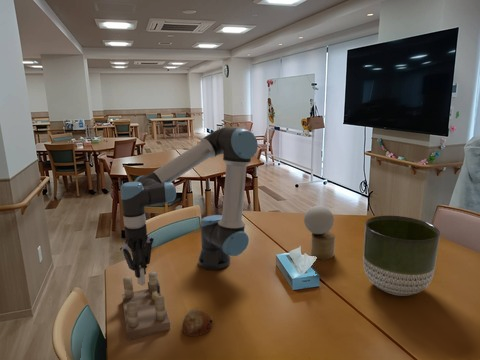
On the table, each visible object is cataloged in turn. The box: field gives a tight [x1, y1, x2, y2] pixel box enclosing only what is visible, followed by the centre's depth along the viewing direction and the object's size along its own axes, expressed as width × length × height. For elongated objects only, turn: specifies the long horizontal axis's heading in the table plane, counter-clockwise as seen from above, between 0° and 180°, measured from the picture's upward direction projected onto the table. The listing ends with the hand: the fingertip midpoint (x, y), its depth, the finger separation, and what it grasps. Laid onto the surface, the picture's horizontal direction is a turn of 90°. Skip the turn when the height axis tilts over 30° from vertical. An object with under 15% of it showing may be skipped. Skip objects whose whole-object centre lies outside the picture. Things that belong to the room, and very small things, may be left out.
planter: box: [362, 215, 441, 297], centre depth 138 cm, size 27×27×27 cm
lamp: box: [303, 205, 336, 260], centre depth 170 cm, size 15×14×25 cm
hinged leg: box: [148, 271, 159, 301], centre depth 132 cm, size 9×3×8 cm, turn 18°
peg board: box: [121, 276, 171, 341], centre depth 125 cm, size 24×14×11 cm, turn 22°
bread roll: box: [182, 308, 213, 337], centre depth 119 cm, size 10×10×8 cm
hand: (141, 283), depth 130 cm, fingers closed
